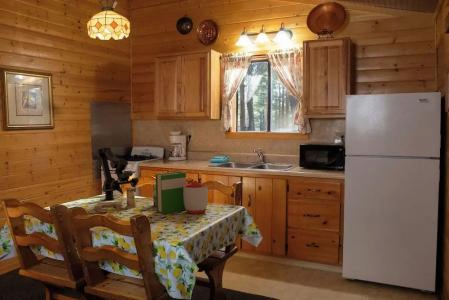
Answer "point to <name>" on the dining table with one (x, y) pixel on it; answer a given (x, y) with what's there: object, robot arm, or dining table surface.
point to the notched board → (109, 205)
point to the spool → (130, 197)
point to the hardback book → (170, 192)
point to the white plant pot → (195, 197)
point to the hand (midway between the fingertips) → (129, 192)
